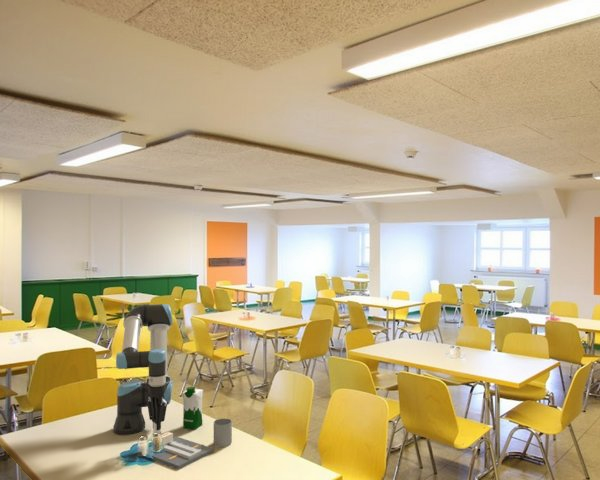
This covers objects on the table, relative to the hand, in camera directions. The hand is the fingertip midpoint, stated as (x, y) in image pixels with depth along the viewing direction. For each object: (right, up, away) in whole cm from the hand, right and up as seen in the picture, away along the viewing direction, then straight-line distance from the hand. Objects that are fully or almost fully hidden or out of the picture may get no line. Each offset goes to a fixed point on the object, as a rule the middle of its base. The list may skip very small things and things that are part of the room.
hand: (156, 436), depth 213 cm
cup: (+30, -5, +3) cm, 30 cm away
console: (+11, -4, -8) cm, 14 cm away
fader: (+5, -3, -3) cm, 6 cm away
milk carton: (+11, -5, +24) cm, 27 cm away
